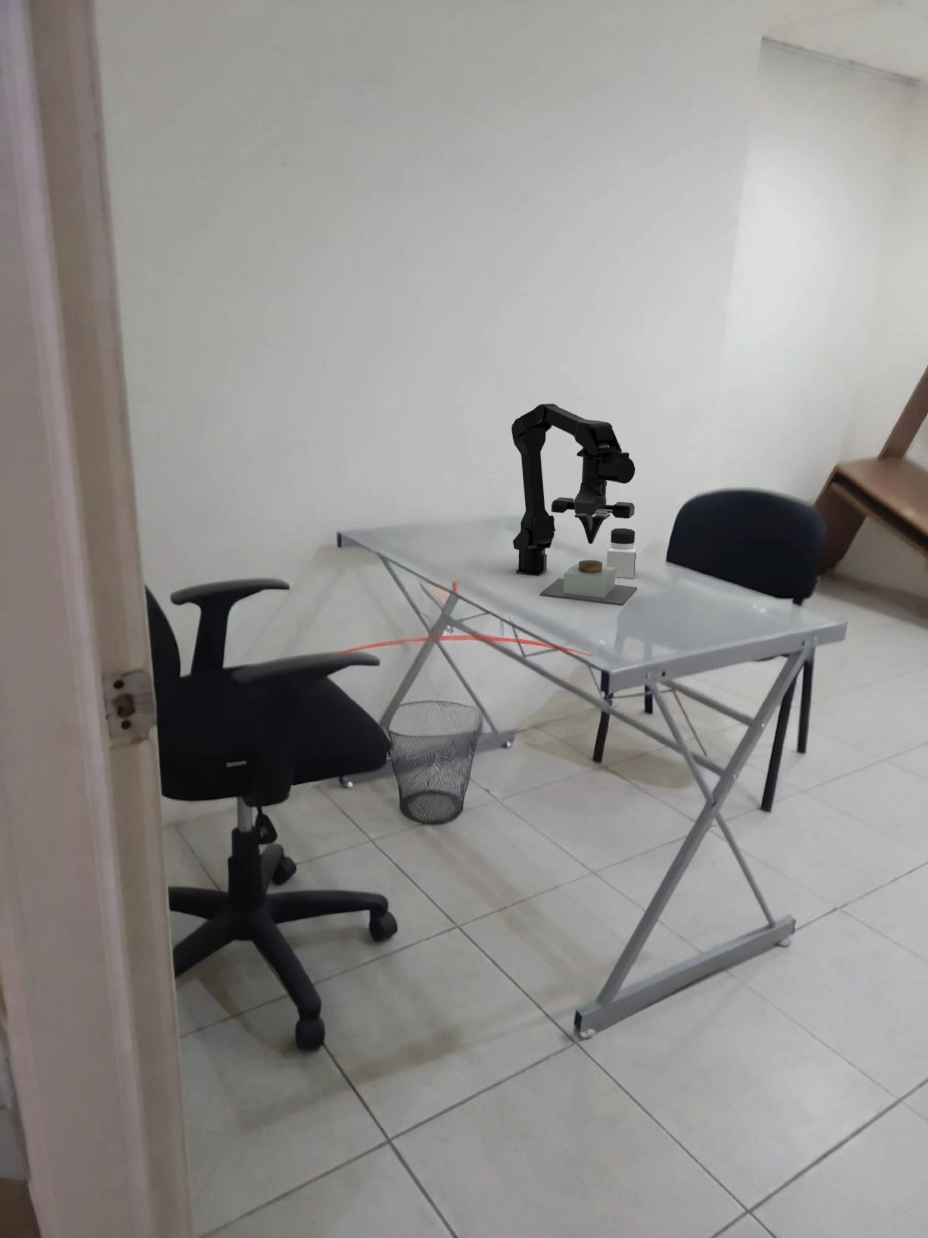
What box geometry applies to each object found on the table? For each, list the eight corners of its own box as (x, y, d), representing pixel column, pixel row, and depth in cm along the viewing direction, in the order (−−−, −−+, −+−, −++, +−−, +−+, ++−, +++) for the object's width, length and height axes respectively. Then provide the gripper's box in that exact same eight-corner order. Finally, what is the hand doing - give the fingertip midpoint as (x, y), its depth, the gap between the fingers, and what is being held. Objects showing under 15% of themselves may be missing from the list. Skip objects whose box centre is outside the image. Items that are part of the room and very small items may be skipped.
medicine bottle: (634, 578, 220) (637, 532, 216) (605, 577, 221) (608, 531, 217) (634, 571, 226) (637, 526, 223) (607, 570, 228) (609, 525, 224)
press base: (539, 595, 205) (540, 573, 203) (558, 580, 218) (559, 558, 216) (622, 605, 197) (624, 582, 196) (637, 589, 211) (638, 567, 209)
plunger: (574, 590, 206) (575, 564, 204) (581, 584, 211) (582, 559, 209) (597, 593, 204) (599, 566, 202) (603, 587, 209) (605, 561, 207)
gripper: (545, 479, 196) (542, 546, 201) (626, 485, 189) (621, 554, 194) (559, 473, 206) (557, 537, 211) (637, 478, 199) (632, 544, 204)
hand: (590, 543), depth 204 cm, fingers closed
